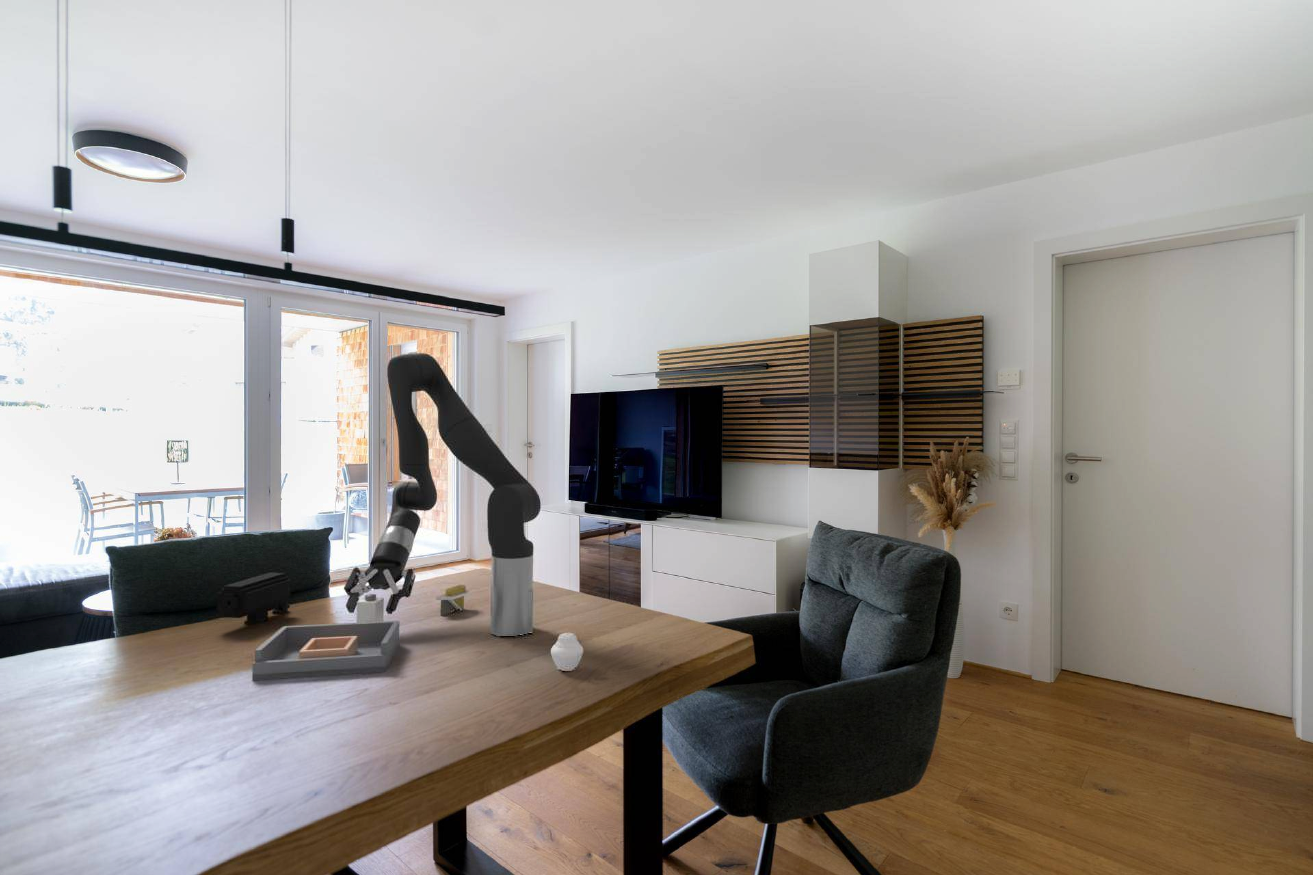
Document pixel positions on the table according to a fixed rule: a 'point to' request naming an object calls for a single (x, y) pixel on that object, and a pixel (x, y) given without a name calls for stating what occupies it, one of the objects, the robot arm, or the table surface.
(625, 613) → the table surface
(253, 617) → the security camera
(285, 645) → the walled box
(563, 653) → the white lidded jar
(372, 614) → the plug
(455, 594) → the platform
